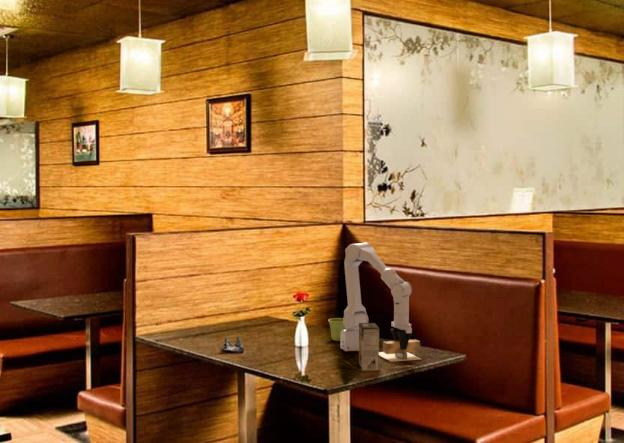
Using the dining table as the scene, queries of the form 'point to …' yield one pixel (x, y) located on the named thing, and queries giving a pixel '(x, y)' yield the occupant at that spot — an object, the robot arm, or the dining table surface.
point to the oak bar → (394, 348)
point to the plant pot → (336, 328)
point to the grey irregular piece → (233, 346)
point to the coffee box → (368, 346)
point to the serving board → (393, 358)
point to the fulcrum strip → (401, 355)
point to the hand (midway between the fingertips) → (401, 348)
